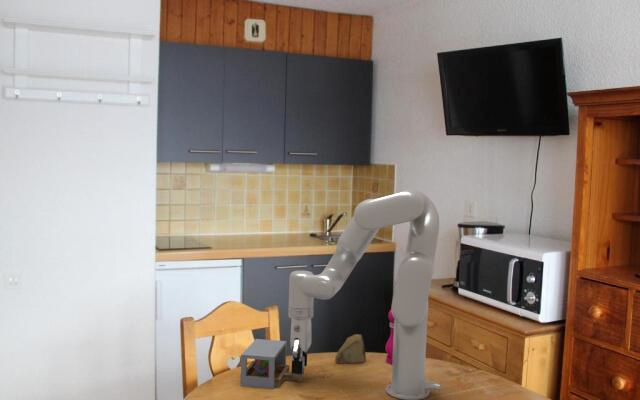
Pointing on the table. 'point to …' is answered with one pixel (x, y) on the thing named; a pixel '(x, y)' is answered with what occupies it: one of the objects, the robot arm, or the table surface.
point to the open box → (263, 351)
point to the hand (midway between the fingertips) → (299, 369)
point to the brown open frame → (284, 373)
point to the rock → (352, 350)
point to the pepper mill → (390, 340)
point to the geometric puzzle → (262, 367)
